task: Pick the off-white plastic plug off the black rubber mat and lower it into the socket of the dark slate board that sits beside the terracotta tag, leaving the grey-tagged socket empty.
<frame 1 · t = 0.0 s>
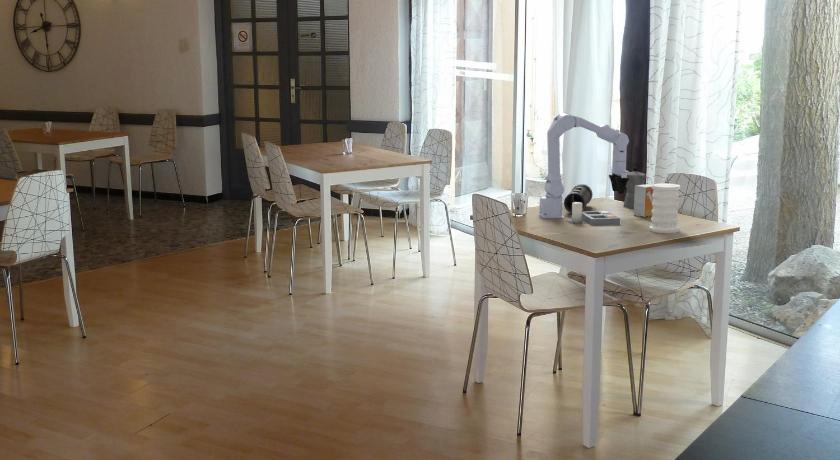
hand: (618, 192, 400), 10 cm above the table, tool pointing down, fingers open, 7 cm apart
coffeepot: (632, 206, 425), on the table
muzzle brake: (578, 211, 415), on the table
small box: (645, 216, 402), on the table
plug: (576, 222, 385), resting on plug mat
decorative container: (663, 230, 370), on the table
socket board: (599, 221, 388), on the table
plug mat: (576, 223, 385), on the table
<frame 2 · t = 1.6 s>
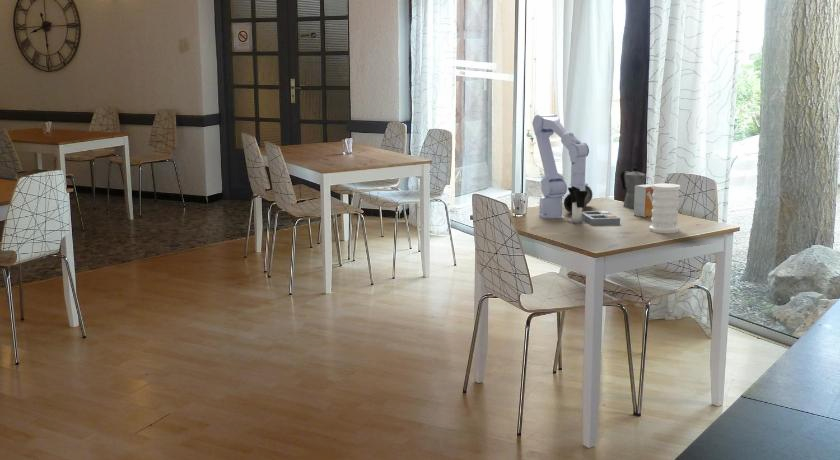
hand: (577, 206, 384), 7 cm above the table, tool pointing down, fingers open, 7 cm apart
nothing on the table moved.
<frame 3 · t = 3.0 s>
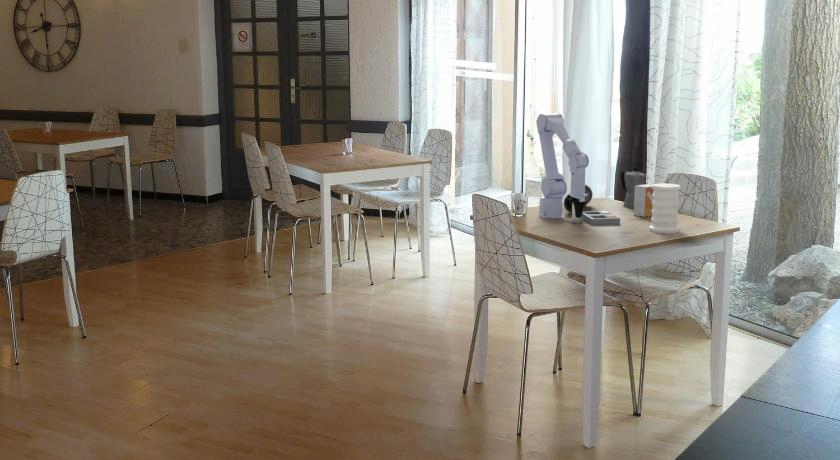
hand: (576, 216, 384), 3 cm above the table, tool pointing down, fingers closed on plug, 4 cm apart
plug: (576, 222, 385), resting on plug mat, touching gripper
everything else where it was.
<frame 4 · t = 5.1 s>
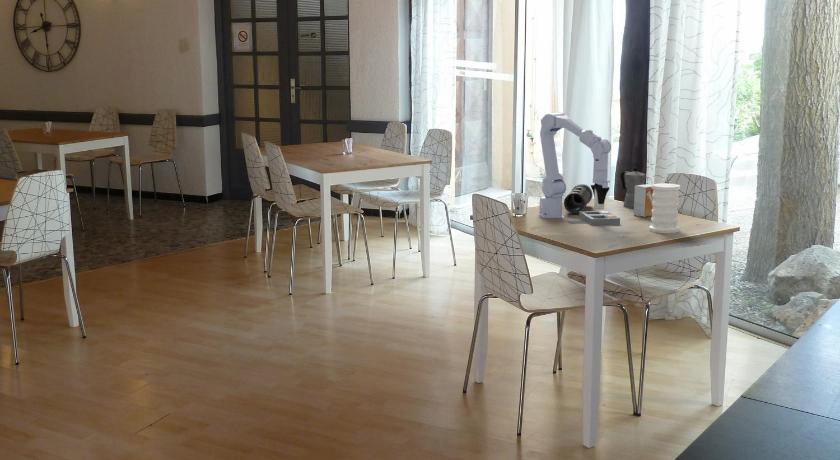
hand: (599, 203, 382), 9 cm above the table, tool pointing down, fingers closed on plug, 4 cm apart
plug: (599, 208, 382), point 6 cm above the table, touching gripper
everything else where it was.
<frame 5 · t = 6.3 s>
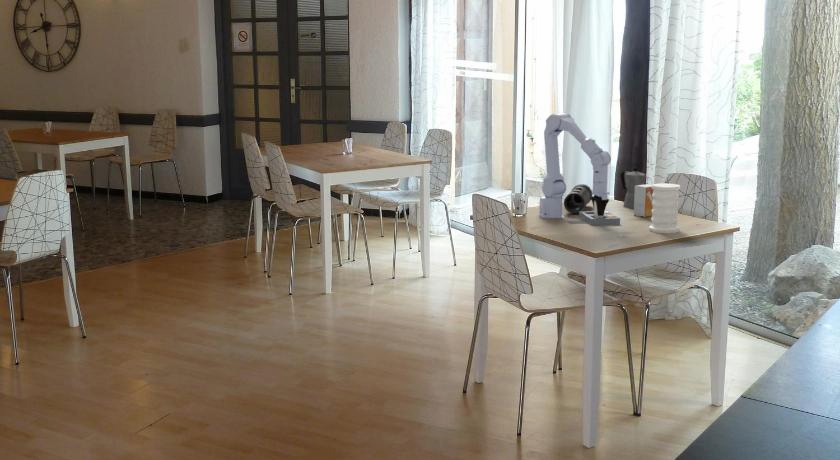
hand: (599, 214, 383), 4 cm above the table, tool pointing down, fingers closed on plug, 4 cm apart
plug: (598, 220, 383), point 2 cm above the table, touching gripper
everything else where it was.
when the fingers open (4 cm above the table, at t = 7.1 s): plug drops 2 cm, resting in socket board.
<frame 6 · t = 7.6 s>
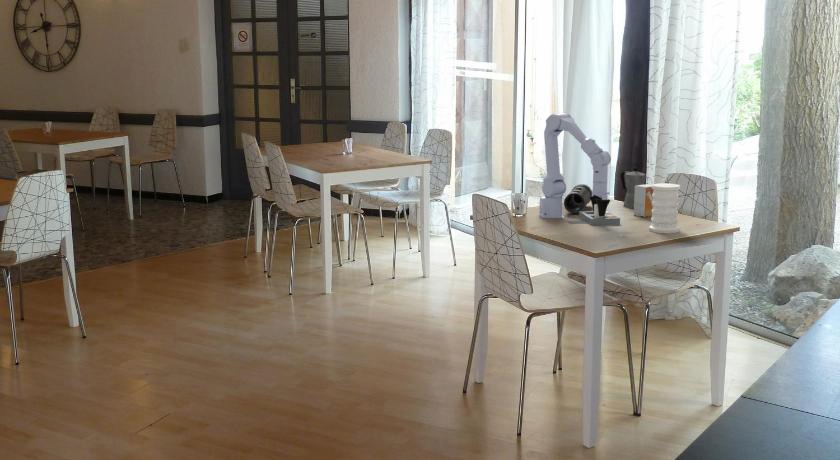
hand: (599, 214, 383), 4 cm above the table, tool pointing down, fingers open, 7 cm apart
plug: (598, 224, 383), resting in socket board
everything else where it was.
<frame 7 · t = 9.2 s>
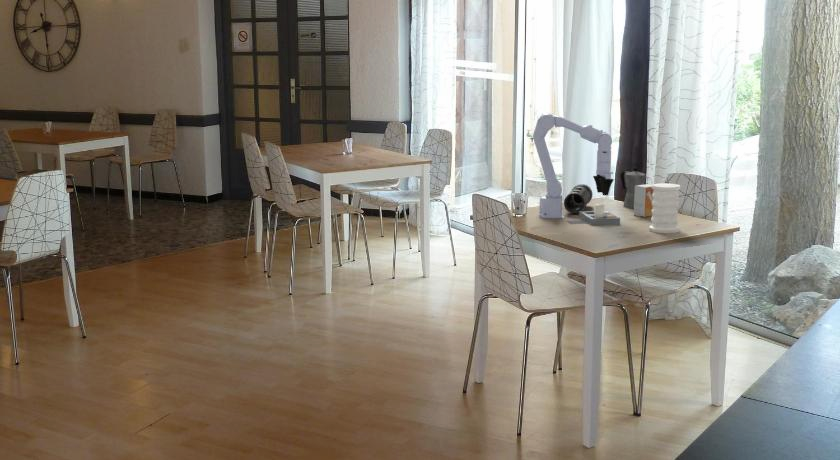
hand: (602, 193, 395), 10 cm above the table, tool pointing down, fingers open, 7 cm apart
nothing on the table moved.
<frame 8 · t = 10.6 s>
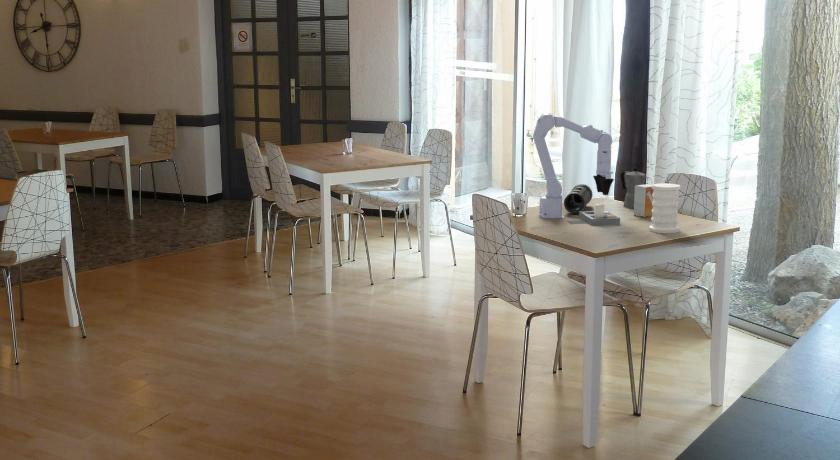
hand: (602, 193, 395), 10 cm above the table, tool pointing down, fingers open, 7 cm apart
nothing on the table moved.
at the end: plug 0.0 cm from the target spot on the socket board, point 0.0 cm above the socket board's base; plug tilted 0°; the gripper is holding nothing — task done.
